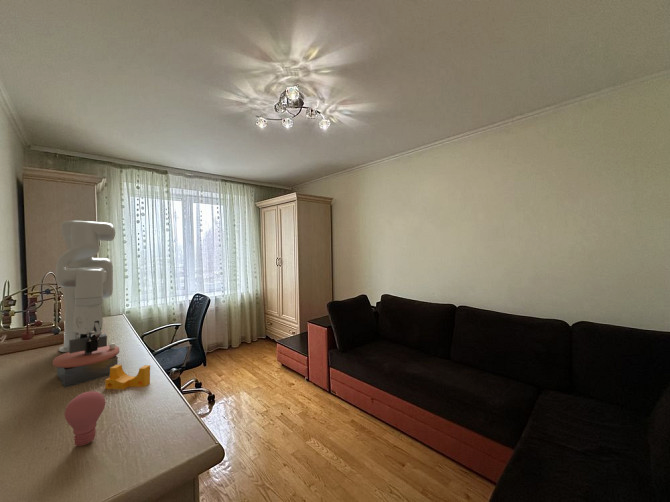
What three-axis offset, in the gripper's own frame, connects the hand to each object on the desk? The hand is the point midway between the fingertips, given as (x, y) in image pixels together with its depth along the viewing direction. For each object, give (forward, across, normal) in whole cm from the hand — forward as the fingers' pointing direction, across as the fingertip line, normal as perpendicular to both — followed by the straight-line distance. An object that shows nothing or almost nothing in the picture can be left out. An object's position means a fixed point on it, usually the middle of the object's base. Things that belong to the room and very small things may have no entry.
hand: (87, 350), depth 97 cm
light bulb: (+9, +42, -20) cm, 48 cm away
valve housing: (+9, 0, 0) cm, 9 cm away
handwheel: (+3, 0, 0) cm, 3 cm away
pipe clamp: (+10, +23, +1) cm, 25 cm away
